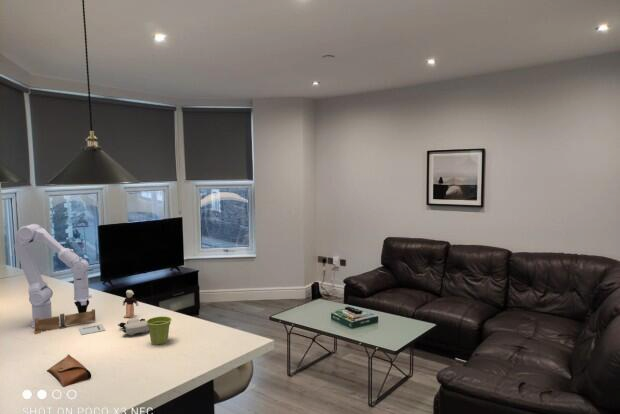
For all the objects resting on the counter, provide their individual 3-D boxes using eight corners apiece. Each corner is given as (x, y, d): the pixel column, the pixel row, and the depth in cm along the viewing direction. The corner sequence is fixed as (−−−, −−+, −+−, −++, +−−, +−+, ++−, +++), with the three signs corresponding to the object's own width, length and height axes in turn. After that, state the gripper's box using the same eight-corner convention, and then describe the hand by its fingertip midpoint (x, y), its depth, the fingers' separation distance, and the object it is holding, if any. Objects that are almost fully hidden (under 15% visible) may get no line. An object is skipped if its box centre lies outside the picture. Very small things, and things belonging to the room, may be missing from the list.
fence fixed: (34, 330, 181) (33, 317, 180) (66, 325, 187) (65, 312, 187) (34, 334, 177) (34, 320, 176) (67, 328, 183) (66, 315, 183)
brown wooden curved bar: (60, 326, 183) (60, 315, 183) (60, 325, 185) (59, 314, 184) (95, 320, 191) (95, 309, 190) (95, 319, 192) (94, 308, 192)
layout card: (78, 328, 183) (78, 327, 183) (101, 324, 188) (101, 323, 188) (81, 335, 176) (81, 334, 176) (105, 330, 181) (105, 329, 181)
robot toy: (116, 331, 183) (124, 339, 170) (115, 320, 183) (123, 328, 170) (146, 325, 190) (155, 332, 178) (145, 315, 190) (155, 322, 178)
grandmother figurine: (120, 318, 196) (119, 291, 195) (123, 315, 200) (122, 289, 199) (137, 318, 196) (136, 291, 195) (140, 315, 200) (139, 288, 199)
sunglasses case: (44, 370, 144) (54, 350, 146) (64, 374, 148) (74, 355, 150) (63, 388, 132) (74, 366, 134) (84, 391, 136) (95, 370, 138)
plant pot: (177, 339, 171) (176, 317, 170) (161, 347, 162) (161, 325, 162) (157, 336, 174) (157, 315, 174) (141, 344, 165) (140, 322, 165)
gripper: (93, 289, 187) (94, 319, 188) (88, 282, 199) (90, 311, 200) (75, 291, 183) (76, 323, 184) (71, 284, 195) (72, 314, 196)
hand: (82, 317), depth 192 cm, fingers closed
